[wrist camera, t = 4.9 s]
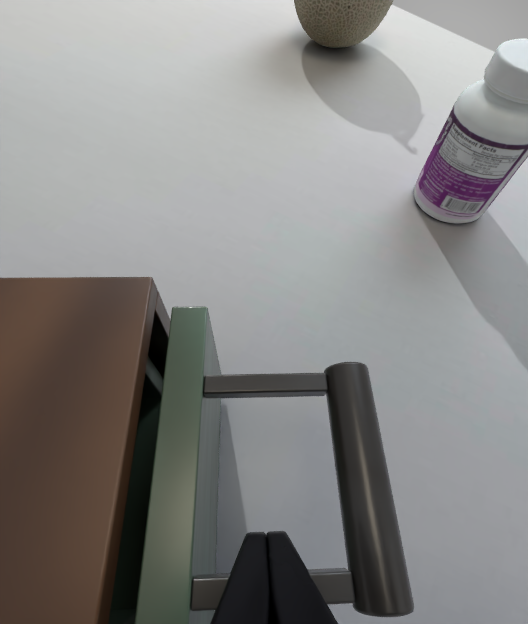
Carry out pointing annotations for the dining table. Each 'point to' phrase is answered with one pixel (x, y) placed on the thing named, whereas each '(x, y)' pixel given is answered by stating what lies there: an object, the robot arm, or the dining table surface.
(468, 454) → the dining table surface
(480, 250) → the dining table surface
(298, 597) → the robot arm
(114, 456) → the storage unit
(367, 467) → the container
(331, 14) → the fruit
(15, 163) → the dining table surface
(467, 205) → the pill bottle
